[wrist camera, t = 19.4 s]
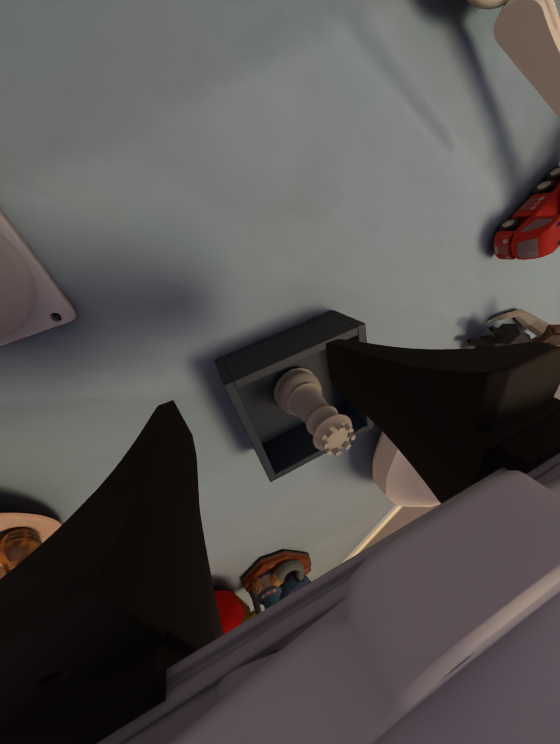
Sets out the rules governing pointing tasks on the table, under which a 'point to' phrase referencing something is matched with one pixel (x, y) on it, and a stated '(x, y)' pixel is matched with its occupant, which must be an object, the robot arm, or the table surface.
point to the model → (276, 577)
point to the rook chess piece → (313, 410)
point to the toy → (518, 331)
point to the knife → (533, 44)
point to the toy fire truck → (533, 224)
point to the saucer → (487, 3)
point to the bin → (260, 375)
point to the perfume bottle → (22, 537)
